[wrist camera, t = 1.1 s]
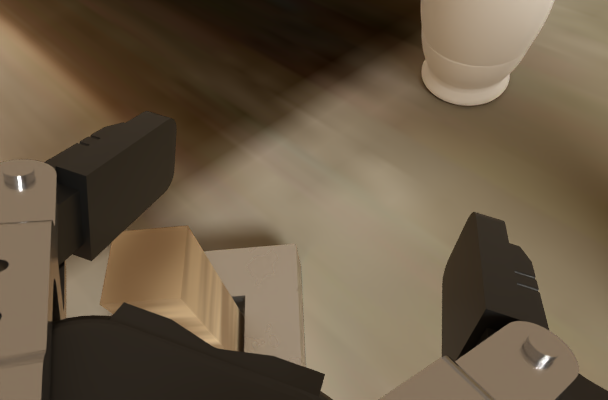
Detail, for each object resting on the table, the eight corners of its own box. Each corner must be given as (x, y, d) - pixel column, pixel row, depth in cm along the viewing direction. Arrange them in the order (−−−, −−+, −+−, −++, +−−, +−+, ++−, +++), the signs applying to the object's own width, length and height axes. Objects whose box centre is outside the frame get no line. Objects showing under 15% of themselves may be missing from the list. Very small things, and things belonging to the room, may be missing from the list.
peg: (244, 318, 34) (187, 225, 22) (243, 370, 32) (180, 298, 20) (196, 322, 34) (113, 231, 22) (192, 373, 32) (99, 304, 20)
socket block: (301, 266, 37) (296, 243, 34) (309, 435, 31) (304, 428, 27) (152, 278, 38) (132, 257, 34) (129, 447, 31) (102, 441, 28)
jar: (525, 118, 43) (597, -39, 30) (409, 114, 44) (432, -38, 32) (513, 40, 48) (570, -121, 36) (411, 39, 50) (431, -117, 37)
